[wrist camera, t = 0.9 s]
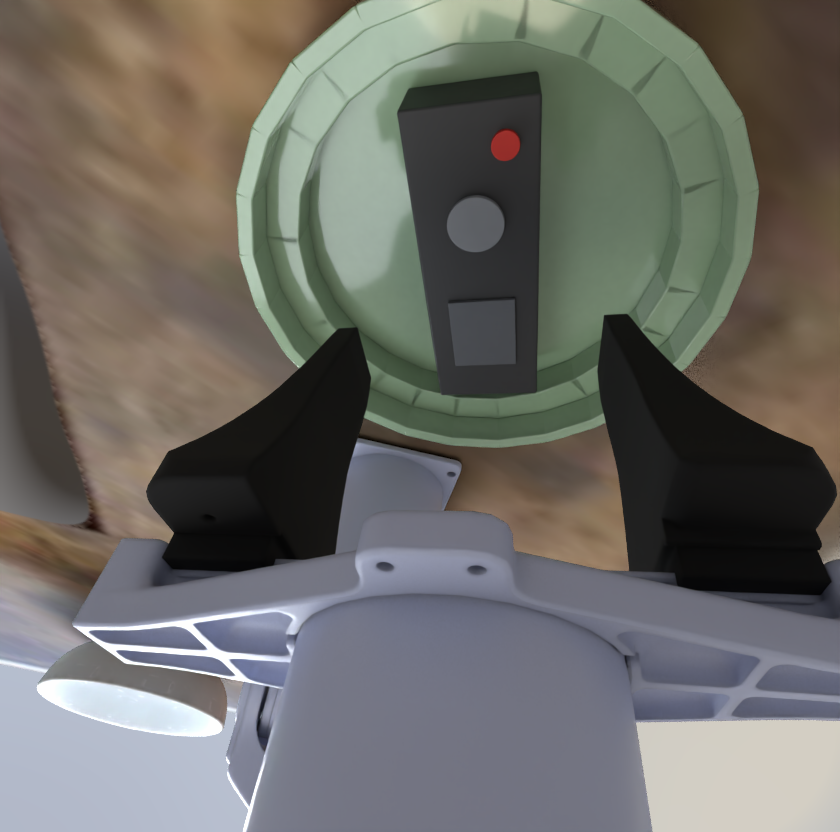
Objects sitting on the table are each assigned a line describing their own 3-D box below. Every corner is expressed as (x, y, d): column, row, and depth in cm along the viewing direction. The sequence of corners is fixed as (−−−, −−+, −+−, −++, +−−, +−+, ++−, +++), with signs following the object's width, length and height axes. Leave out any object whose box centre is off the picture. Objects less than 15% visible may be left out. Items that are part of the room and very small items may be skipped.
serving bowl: (128, 675, 75) (102, 730, 70) (35, 609, 60) (-6, 672, 55) (265, 688, 71) (247, 746, 66) (201, 621, 57) (172, 689, 52)
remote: (534, 357, 26) (537, 396, 24) (444, 360, 26) (439, 398, 24) (538, 70, 17) (542, 94, 15) (407, 87, 18) (395, 113, 16)
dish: (593, 429, 29) (600, 480, 27) (268, 352, 28) (245, 399, 26) (851, 45, 16) (915, 75, 14) (267, -128, 15) (218, -130, 12)
